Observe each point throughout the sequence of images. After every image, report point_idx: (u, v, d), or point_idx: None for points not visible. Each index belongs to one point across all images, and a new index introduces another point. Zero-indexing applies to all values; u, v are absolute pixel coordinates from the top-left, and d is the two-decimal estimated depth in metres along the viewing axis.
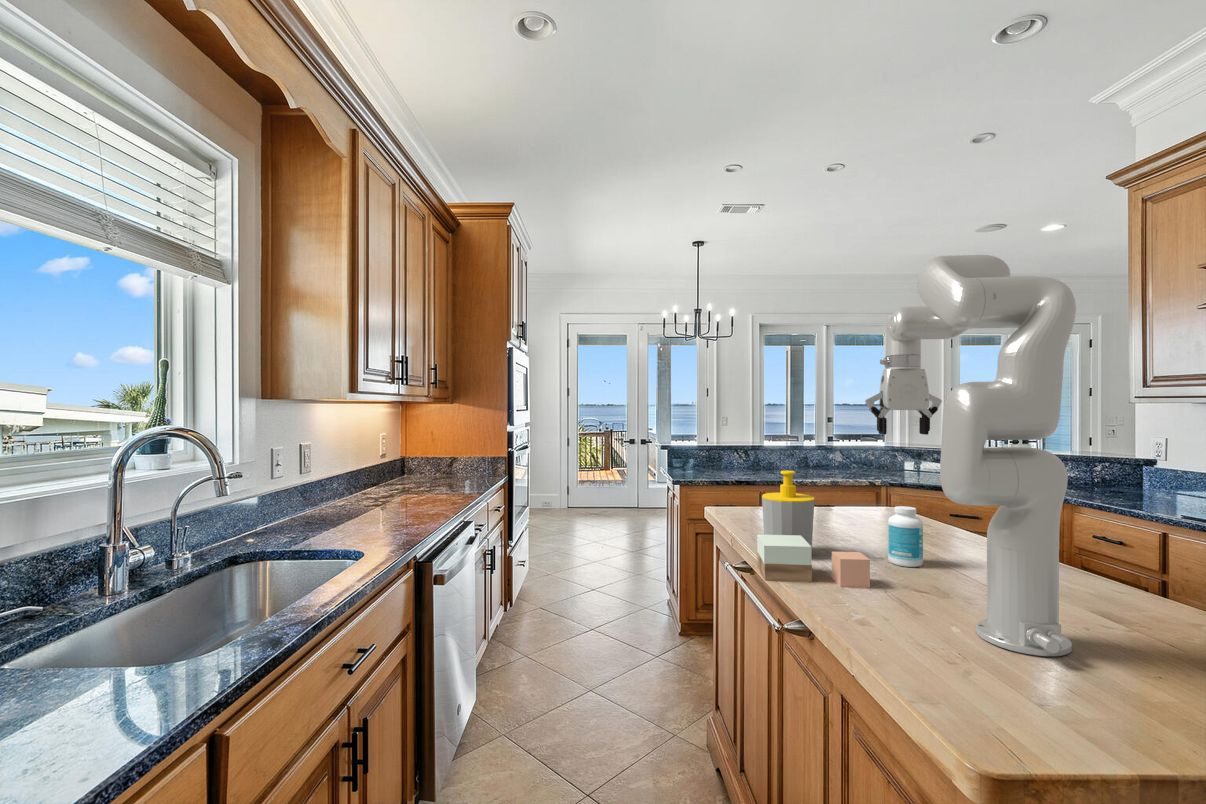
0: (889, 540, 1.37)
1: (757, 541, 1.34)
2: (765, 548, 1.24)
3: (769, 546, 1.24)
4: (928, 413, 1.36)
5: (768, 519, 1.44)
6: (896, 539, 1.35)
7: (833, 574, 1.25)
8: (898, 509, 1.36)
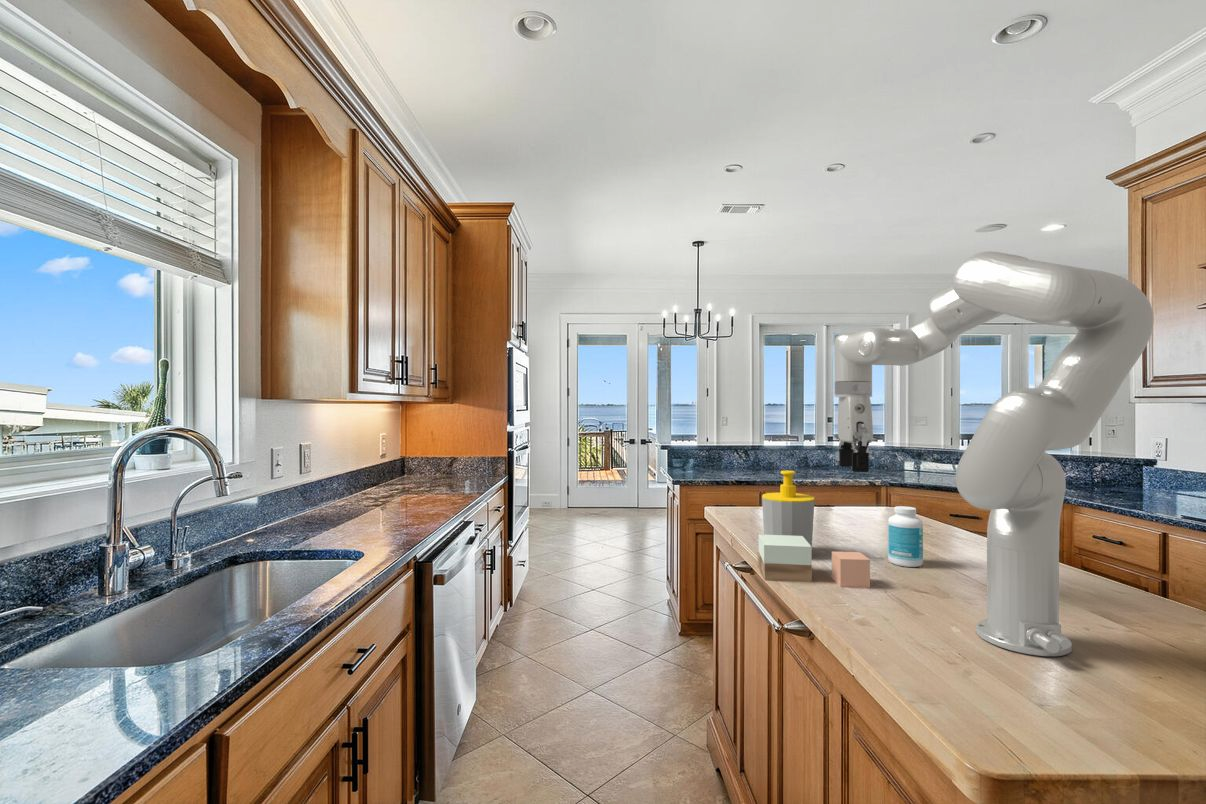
0: (889, 540, 1.37)
1: None
2: (765, 547, 1.25)
3: (769, 545, 1.25)
4: None
5: (768, 519, 1.44)
6: (896, 539, 1.35)
7: (833, 574, 1.25)
8: (898, 509, 1.36)
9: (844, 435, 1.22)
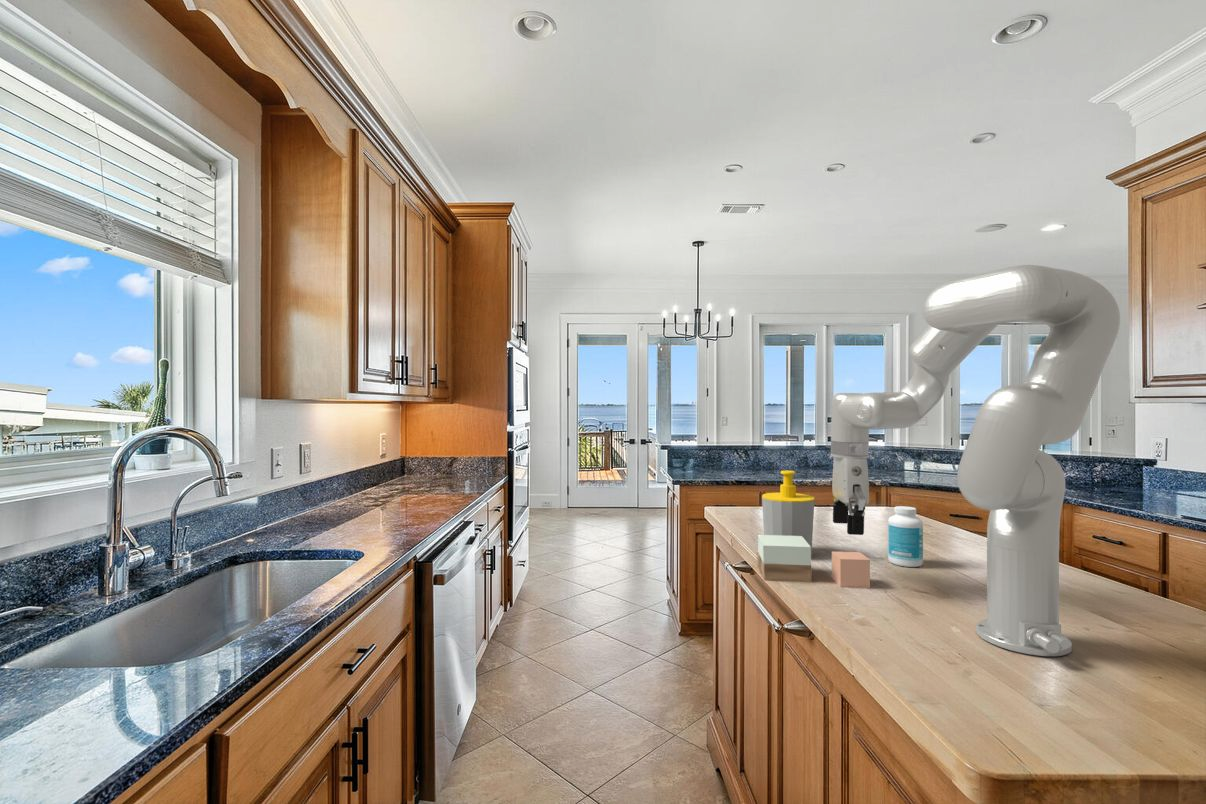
0: (889, 540, 1.37)
1: (758, 541, 1.34)
2: (764, 548, 1.25)
3: (768, 546, 1.25)
4: None
5: (768, 519, 1.44)
6: (896, 539, 1.35)
7: (833, 574, 1.25)
8: (898, 509, 1.36)
9: (840, 495, 1.22)
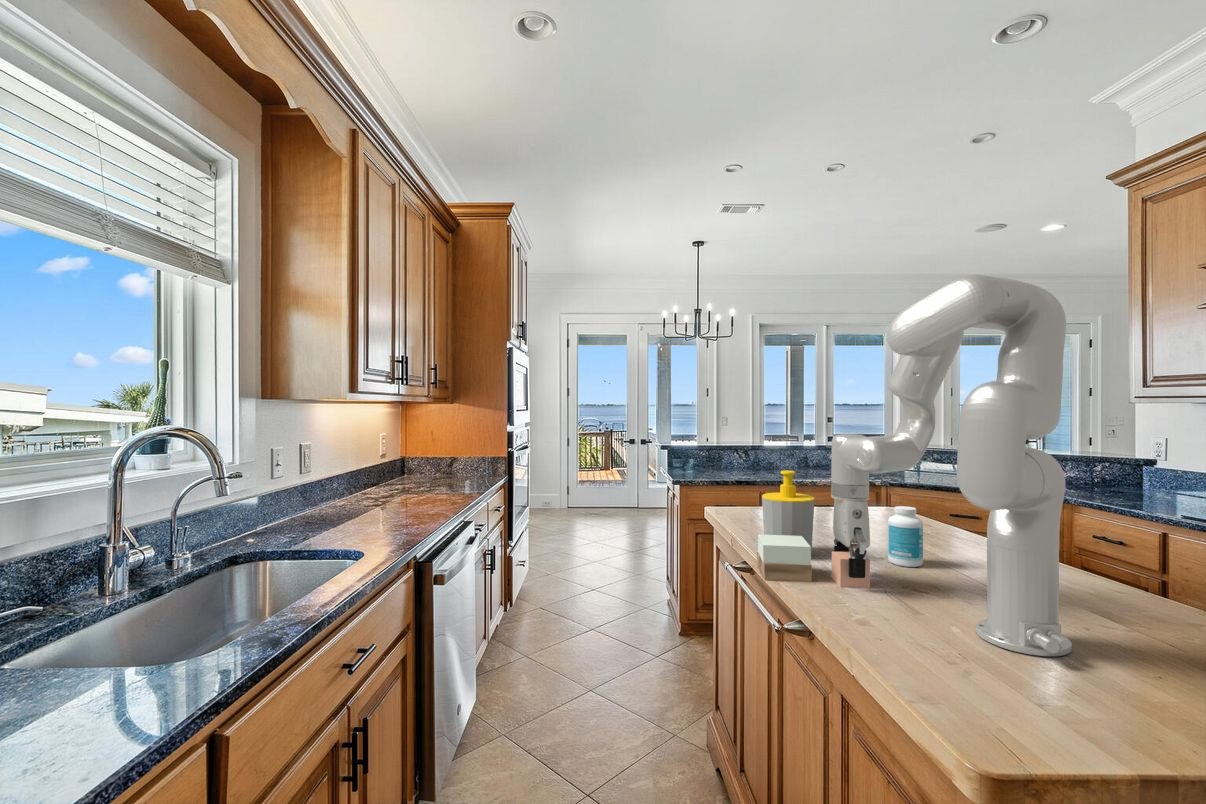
0: (889, 540, 1.37)
1: (758, 541, 1.34)
2: (764, 548, 1.25)
3: (768, 546, 1.25)
4: None
5: (768, 519, 1.44)
6: (896, 539, 1.35)
7: (833, 574, 1.25)
8: (898, 509, 1.36)
9: (841, 537, 1.22)
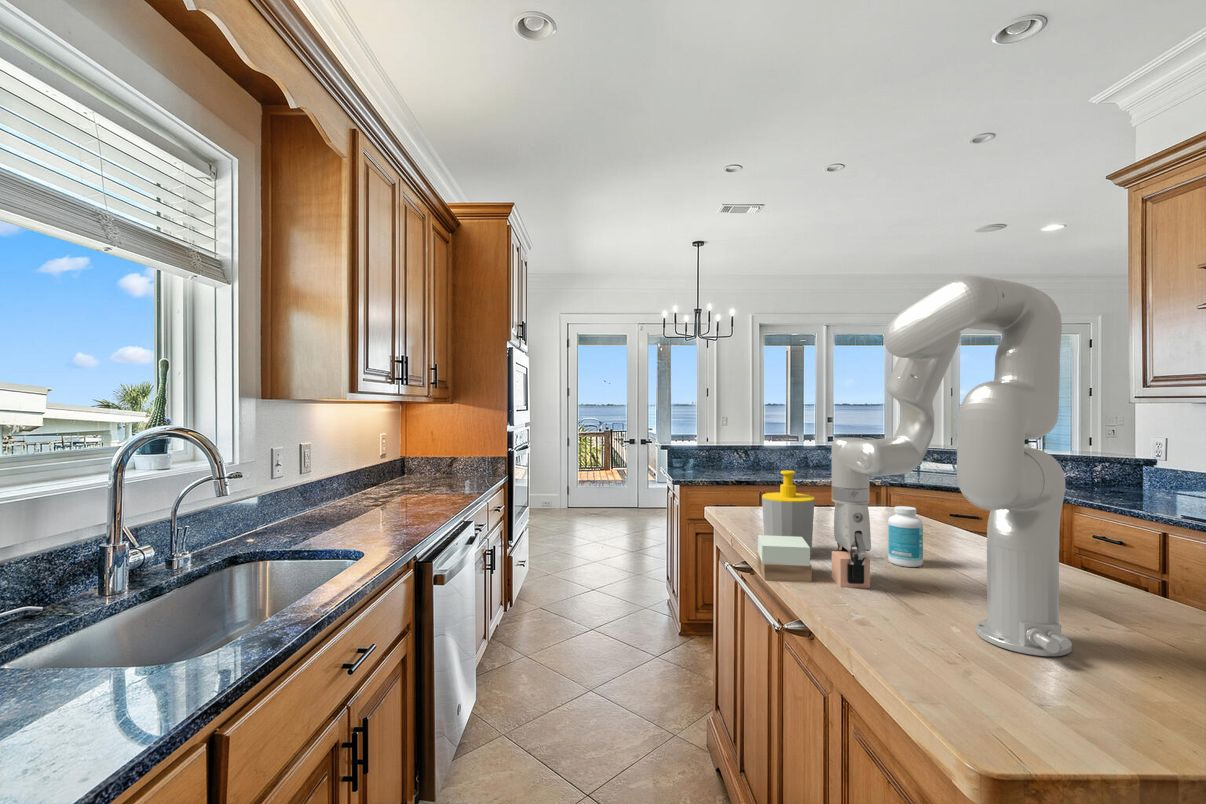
0: (889, 540, 1.37)
1: None
2: (763, 548, 1.25)
3: (767, 546, 1.25)
4: None
5: (768, 519, 1.44)
6: (896, 539, 1.35)
7: (833, 574, 1.25)
8: (898, 509, 1.36)
9: (841, 541, 1.21)
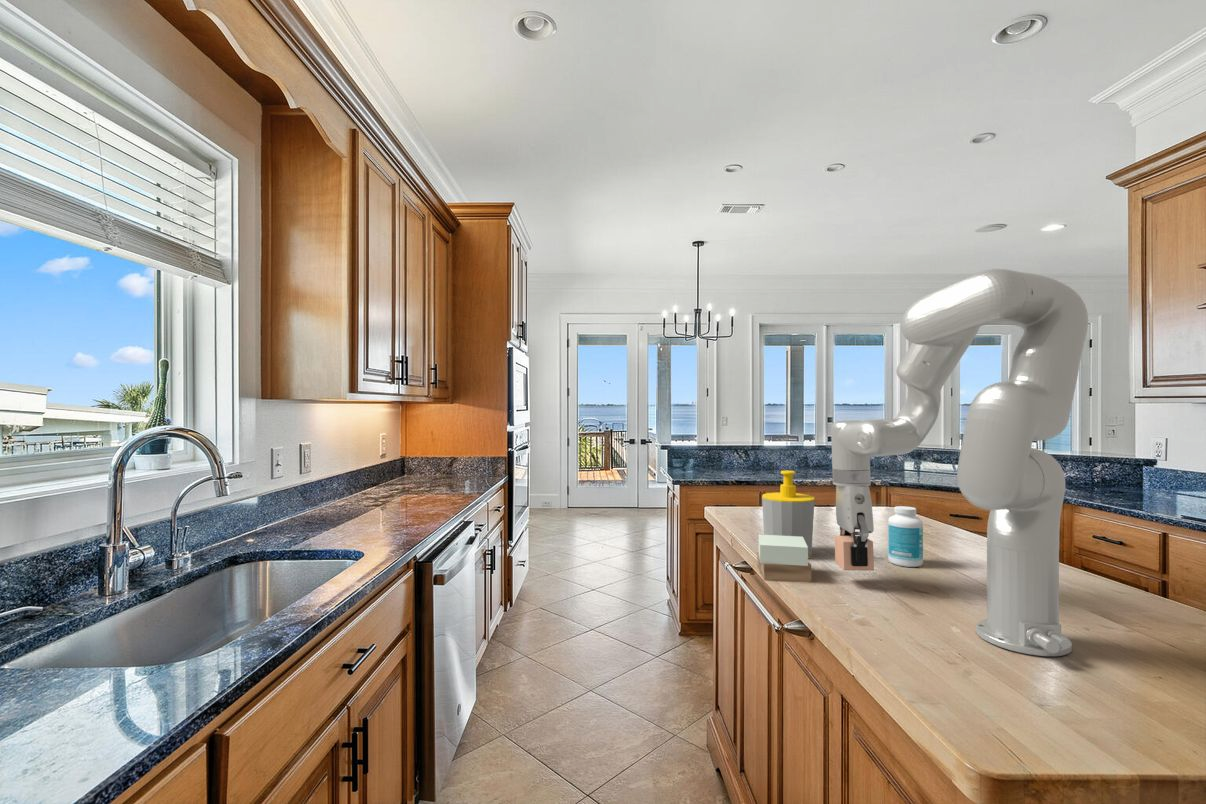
0: (889, 540, 1.37)
1: None
2: (761, 547, 1.25)
3: (765, 545, 1.25)
4: None
5: (768, 519, 1.44)
6: (896, 539, 1.35)
7: (836, 558, 1.24)
8: (898, 509, 1.36)
9: (844, 524, 1.21)
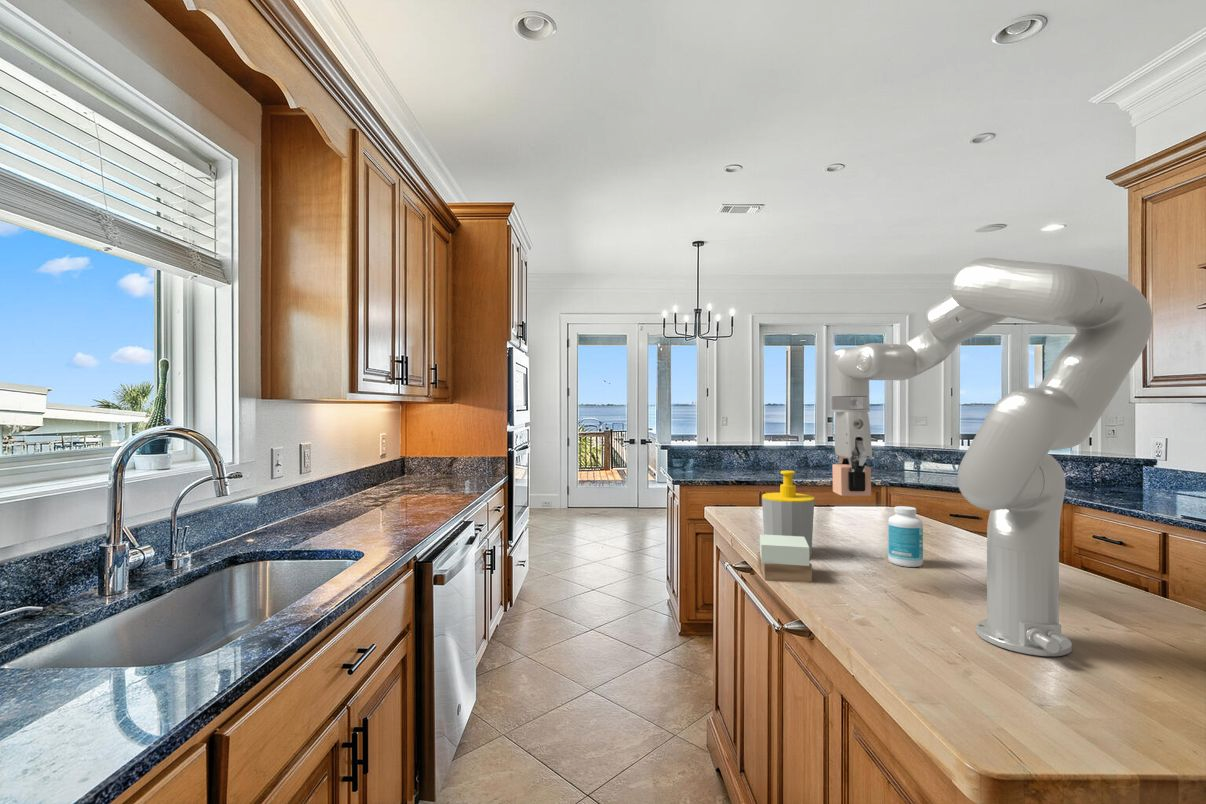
0: (889, 540, 1.37)
1: None
2: (762, 547, 1.25)
3: (766, 545, 1.25)
4: None
5: (768, 519, 1.44)
6: (896, 539, 1.35)
7: (834, 486, 1.24)
8: (898, 509, 1.36)
9: (842, 450, 1.21)
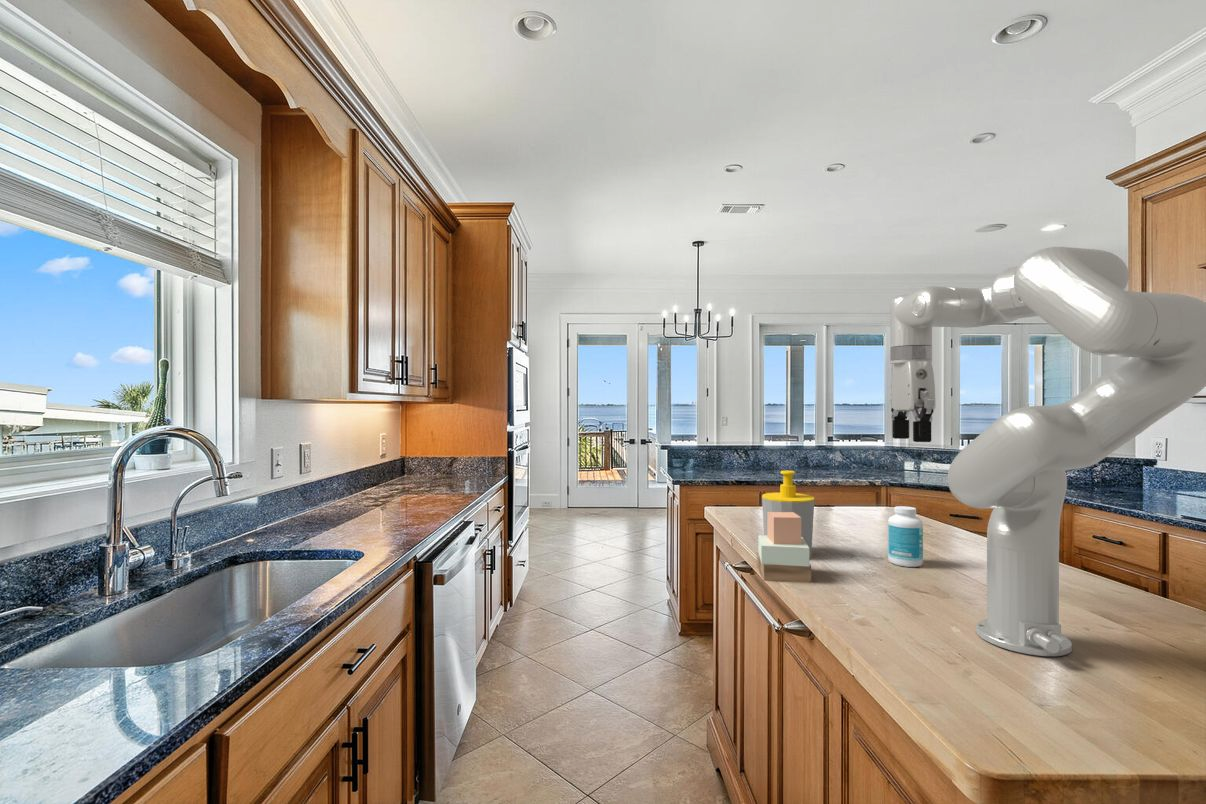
0: (889, 540, 1.37)
1: (758, 542, 1.34)
2: (762, 548, 1.25)
3: (766, 546, 1.24)
4: None
5: None
6: (896, 539, 1.35)
7: (768, 533, 1.31)
8: (898, 509, 1.36)
9: (902, 404, 1.14)
